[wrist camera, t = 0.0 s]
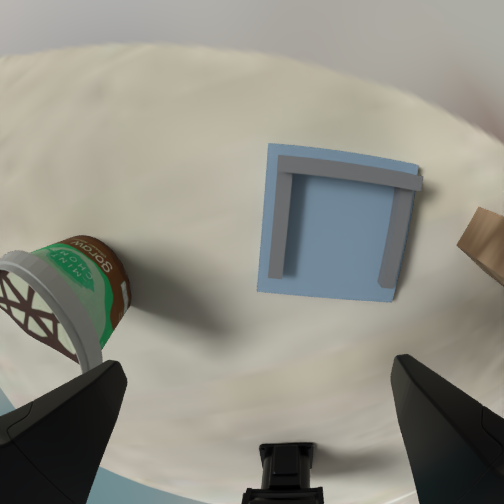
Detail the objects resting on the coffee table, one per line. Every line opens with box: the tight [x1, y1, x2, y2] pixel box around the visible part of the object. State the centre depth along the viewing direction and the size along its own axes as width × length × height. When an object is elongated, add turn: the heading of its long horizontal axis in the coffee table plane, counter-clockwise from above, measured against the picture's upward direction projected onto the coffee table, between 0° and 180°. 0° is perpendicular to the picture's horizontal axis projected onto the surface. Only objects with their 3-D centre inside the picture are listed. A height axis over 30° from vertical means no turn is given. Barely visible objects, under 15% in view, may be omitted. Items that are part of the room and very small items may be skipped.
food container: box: [0, 235, 131, 374], centre depth 20 cm, size 12×6×10 cm, turn 67°
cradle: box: [257, 143, 423, 302], centre depth 20 cm, size 11×11×3 cm
